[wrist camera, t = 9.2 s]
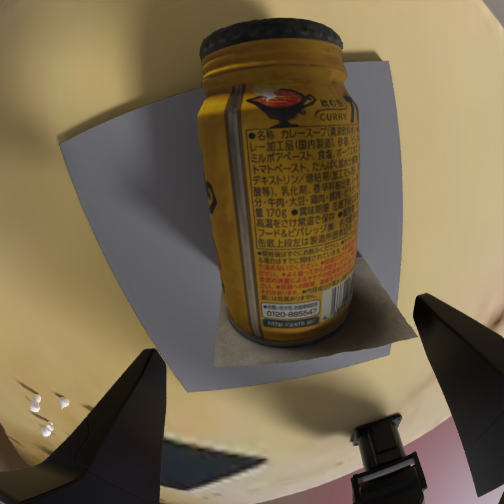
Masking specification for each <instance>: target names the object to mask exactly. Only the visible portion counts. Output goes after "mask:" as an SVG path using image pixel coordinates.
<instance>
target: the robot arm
mask: <svg viewBox="0 0 504 504" xmlns="http://www.w3.org/2000/svg"><path fill="white" fill-rule="evenodd" d="M413 318H414V321H415V324H416V327H417V329H418V332H419V335H420V338H421V341H422V344H423V347H424V350H425V352H426V355H427V357H428V360H429V362H430V364H431V366H432V369H433V371H434V373H435V375H436V378H437V380H438V382H439V385H440V387H441V389H442V392H443V394H444V396H445V399H446V401H447V404H448V406H449V409H450V412H451V414H452V416H453V419H454V422H455V425H456V427H457V430H458V433H459V436H460V439H461V442H462V445H463V448H464V450H465V454H466V457H467V460H468V464H469V467H470V471H471V474H472V477H473V481H474V485H475V489H476V492H477V496H478V497H480V496H482V495H484V494H486V493H488V492H490V491H492V490H494V489H496V488H498V487H499V486H501V485H503V484H504V338H503V337H502V336H501V335H499V334H497V333H496V332H494V331H492V330H491V329H489V328H487V327H486V326H484V325H482V324H481V323H479V322H477V321H476V320H474V319H472V318H471V317H469V316H467V315H465V314H464V313H462V312H460V311H459V310H457V309H455V308H453V307H452V306H450V305H448V304H446V303H445V302H443V301H441V300H439V299H437V298H436V297H434V296H432V295H430V294H428V293H424V294H421V295H418V296H417V297H416V299H415V305H414V311H413ZM165 415H166V364H165V362H164V360H163V359H162V357H161V356H160V354H159V353H158V351H157V350H156V349H155V348H151V349H144V350H143V351H142V352H141V353H140V355H139V356H138V357H137V358H136V359H135V360H134V361H133V363H132V364H131V365H130V366H129V367H128V368H127V370H126V371H125V372H124V373H123V374H122V375H121V377H120V378H119V379H118V380H117V381H116V382H115V384H114V385H113V386H112V387H111V388H110V389H109V391H108V392H107V393H106V394H105V395H104V396H103V398H102V399H101V400H100V401H99V402H98V404H97V405H96V406H95V407H94V408H93V409H92V411H91V412H90V413H89V414H88V415H87V417H86V418H85V419H84V420H83V421H82V422H81V424H80V425H79V426H78V427H77V428H76V429H75V430H74V432H73V433H72V434H71V435H70V436H69V437H68V438H67V439H66V440H65V441H64V442H63V443H62V444H61V445H60V446H59V447H58V448H57V449H56V450H55V451H54V452H53V453H52V454H51V455H50V456H49V457H48V458H47V459H46V460H45V461H43V462H42V463H40V464H38V465H35V466H31V467H26V468H21V469H15V470H9V471H3V472H0V501H2V502H3V504H159V500H160V478H161V462H162V448H163V436H164V425H165ZM401 419H402V416H401V415H397V416H394V417H391V418H388V419H385V420H382V421H379V422H376V423H372V424H369V425H365V426H362V427H358V428H356V429H355V433H354V439H353V446H357V445H359V449H360V453H361V457H362V461H363V466H364V470H365V472H363V473H360V474H354V475H353V477H352V478H351V482H352V488H353V504H425V503H424V495H423V492H426V491H427V490H428V489H427V484H426V480H425V477H424V474H423V471H422V468H421V465H420V462H419V459H418V456H417V453H416V451H415V452H413V453H412V454H410V455H407V456H406V454H405V451H404V448H403V445H402V441H401V438H400V435H399V432H398V429H397V428H398V426H399V424H400V421H401ZM413 463H414V465H413V466H412V467H411V466H410V464H413ZM0 504H1V503H0ZM498 504H504V492H503V494H502V497H501V499H500V501H499V503H498Z"/></svg>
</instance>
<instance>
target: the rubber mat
mask: <svg viewBox="0 0 504 504" xmlns="http://www.w3.org/2000/svg"><path fill="white" fill-rule="evenodd" d="M343 64H344V66H345V68H346V72H347V74H348V76H347V79H346V80H345V82H344V86H345V88H346V90H347V91H348V93H349V95H350V96H351V98H352V99H353V100H354V102H355V103H356V105H357V107H358V109H359V124H360V198H359V223H358V239H357V253H356V259H357V258H364V259H365V260H366V262H367V263H368V265H369V266H370V269H371V270H372V271H373V273H374V274H375V275H376V277H377V278H378V280H379V281H380V283H381V286H382V287H383V288H384V289H385V290H386V292H387V293H388V295H389V297H390V298H391V300H392V301H393V303H394V304H395V305H396V306H397V300H398V290H399V280H400V267H401V251H402V223H403V193H402V165H401V150H400V137H399V127H398V118H397V110H396V102H395V95H394V89H393V83H392V77H391V71H390V66H389V61H363V62H344V63H343ZM206 99H207V97H206V94H205V91H204V90H203V88H202V87H201V88H197V89H194V90H190V91H187V92H184V93H181V94H178V95H174V96H171V97H168V98H165V99H162V100H160V101H157V102H154V103H151V104H148V105H146V106H143V107H140V108H138V109H135V110H133V111H130V112H128V113H125V114H123V115H120V116H118V117H116V118H113V119H111V120H109V121H106V122H104V123H102V124H100V125H97V126H95V127H93V128H91V129H89V130H87V131H85V132H83V133H81V134H79V135H77V136H75V137H73V138H71V139H69V140H67V141H65V142H63V143H61V144H59V145H60V148H61V151H62V154H63V157H64V160H65V163H66V166H67V169H68V172H69V174H70V177H71V180H72V182H73V185H74V187H75V190H76V193H77V195H78V198H79V200H80V203H81V205H82V207H83V210H84V212H85V214H86V217H87V219H88V221H89V224H90V226H91V228H92V230H93V232H94V235H95V237H96V239H97V241H98V243H99V245H100V247H101V250H102V252H103V254H104V256H105V258H106V260H107V262H108V264H109V266H110V268H111V270H112V272H113V273H114V275H115V277H116V279H117V281H118V283H119V285H120V287H121V289H122V290H123V292H124V294H125V296H126V298H127V299H128V301H129V303H130V305H131V306H132V308H133V310H134V312H135V313H136V315H137V317H138V318H139V320H140V322H141V324H142V325H143V327H144V328H145V330H146V332H147V333H148V335H149V337H150V338H151V340H152V341H153V343H154V344H155V346H156V348H157V349H158V351H159V352H160V354H161V355H162V357H163V358H164V360H165V361H166V363H167V364H168V366H169V367H170V369H171V370H172V372H173V373H174V374H175V376H176V377H177V379H178V380H179V382H180V383H181V384H182V386H183V387H184V389H185V390H186V391H187V392H200V391H211V390H220V389H229V388H237V387H245V386H252V385H259V384H265V383H272V382H277V381H283V380H289V379H294V378H299V377H304V376H309V375H314V374H318V373H323V372H327V371H332V370H336V369H340V368H344V367H348V366H352V365H356V364H359V363H363V362H367V361H370V360H374V359H377V358H380V357H384V356H387V355H389V354H390V348H391V343H390V344H387V345H385V346H380V347H377V348H371V349H363V350H359V351H353V352H342V353H338V354H334V355H331V356H328V357H320V358H315V359H311V360H300V361H296V362H288V363H269V364H265V365H252V366H224V367H213V365H214V354H215V345H216V335H217V329H218V319H219V311H220V300H221V291H222V286H221V278H220V272H219V266H218V262H217V254H216V248H215V244H214V237H213V233H212V225H211V218H210V210H209V203H208V196H207V192H206V187H205V177H204V167H203V160H202V152H201V147H200V142H199V138H198V133H197V131H198V123H197V115H198V113H199V110H200V108H201V107H202V105H203V103H204V100H206Z"/></svg>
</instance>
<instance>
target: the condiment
mask: <svg viewBox="0 0 504 504" xmlns="http://www.w3.org/2000/svg"><path fill="white" fill-rule="evenodd" d="M342 45H343V42H342V41H341V39H340V37H339V36H338V34H337V33H336V32H334V31H333V30H332V29H331V28H329V27H327V26H325V25H323V24H321V23H317V22H314V21H310V20H305V19H296V18H270V19H263V20H252V21H247V22H242V23H237V24H233V25H231V26H228V27H226V28H221V29H219V30H217V31H215V32H213V33H212V34H211V35H209V36H208V37H207V38H206V39H204V40H203V43H202V45H201V47H200V58H201V63H202V66H203V74H204V77H203V79H202V88H203V90H204V91H205V94H206V97H207V99H206V100H204V103H203V105H202V107H201V108H200V110H199V113H198V115H197V123H198V131H197V133H198V138H199V142H200V147H201V152H202V160H203V167H204V177H205V187H206V192H207V196H208V203H209V210H210V218H211V225H212V233H213V237H214V244H215V248H216V254H217V262H218V266H219V272H220V278H221V286H222V291H221V300H220V311H219V319H218V329H217V335H216V345H215V354H214V365H213V367H224V366H252V365H265V364H269V363H288V362H296V361H300V360H311V359H315V358H320V357H328V356H331V355H334V354H338V353H342V352H353V351H359V350H363V349H371V348H377V347H380V346H385V345H387V344H390V343H393V342H397V341H401V340H407V339H411V338H415V337H418V336H417V335H416V333H415V332H414V330H413V329H412V327H411V326H410V325H409V324H408V323H407V322H406V320H405V318H404V317H403V316H402V314H401V313H400V311H399V309H398V308H397V306H396V305H395V304H394V303H393V301H392V300H391V298H390V297H389V295H388V293H387V292H386V290H385V289H384V288H383V287H382V286H381V283H380V281H379V280H378V278H377V277H376V275H375V274H374V273H373V271H372V270H371V269H370V266H369V265H368V263H367V262H366V260H365V259H364V258H357V259H356V253H357V239H358V223H359V198H360V124H359V109H358V107H357V105H356V103H355V102H354V100H353V99H352V98H351V96H350V95H349V93H348V91H347V90H346V88H345V86H344V82H345V80H346V79H347V76H348V74H347V72H346V68H345V66H344V64H343V62H342V61H343V57H342V49H343V46H342Z"/></svg>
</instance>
